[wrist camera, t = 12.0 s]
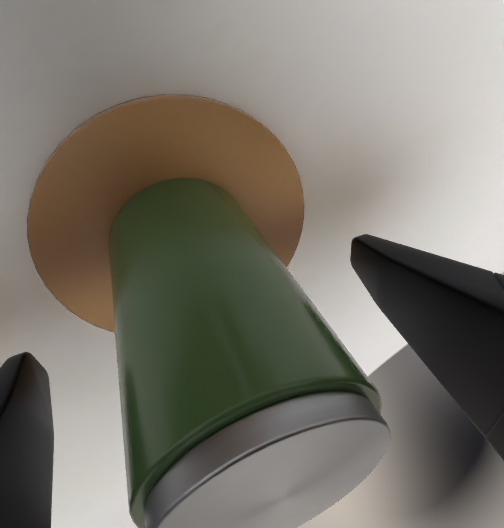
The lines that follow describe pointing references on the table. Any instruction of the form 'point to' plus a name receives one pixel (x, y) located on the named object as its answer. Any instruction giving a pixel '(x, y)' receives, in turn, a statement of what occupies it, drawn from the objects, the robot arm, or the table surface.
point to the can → (228, 372)
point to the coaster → (144, 175)
